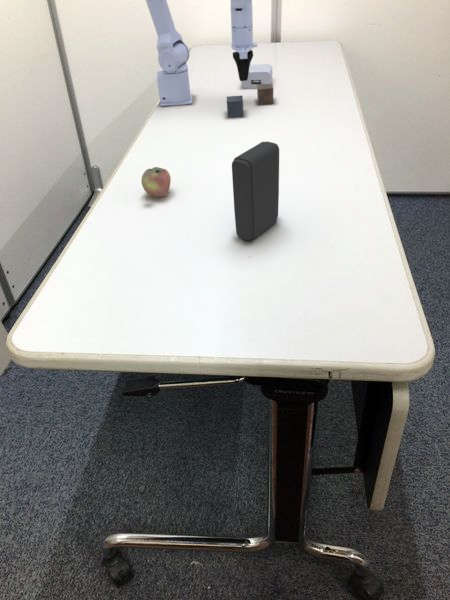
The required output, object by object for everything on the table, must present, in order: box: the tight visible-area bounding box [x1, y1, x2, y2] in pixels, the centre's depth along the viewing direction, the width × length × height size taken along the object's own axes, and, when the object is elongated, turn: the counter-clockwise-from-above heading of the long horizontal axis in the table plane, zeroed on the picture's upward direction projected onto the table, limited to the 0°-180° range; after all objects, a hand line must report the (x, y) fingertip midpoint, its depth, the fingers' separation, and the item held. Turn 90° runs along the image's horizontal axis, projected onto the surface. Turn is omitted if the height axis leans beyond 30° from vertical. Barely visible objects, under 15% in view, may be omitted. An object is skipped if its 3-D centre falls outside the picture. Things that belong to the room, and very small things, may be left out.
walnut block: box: [256, 83, 274, 106], centre depth 135 cm, size 4×4×4 cm
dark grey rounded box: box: [231, 140, 280, 242], centre depth 80 cm, size 9×4×15 cm, turn 141°
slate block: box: [226, 95, 245, 119], centre depth 129 cm, size 4×4×4 cm
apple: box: [140, 166, 172, 198], centre depth 95 cm, size 6×8×6 cm
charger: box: [240, 63, 273, 89], centre depth 151 cm, size 5×9×15 cm
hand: (243, 80), depth 133 cm, fingers closed
